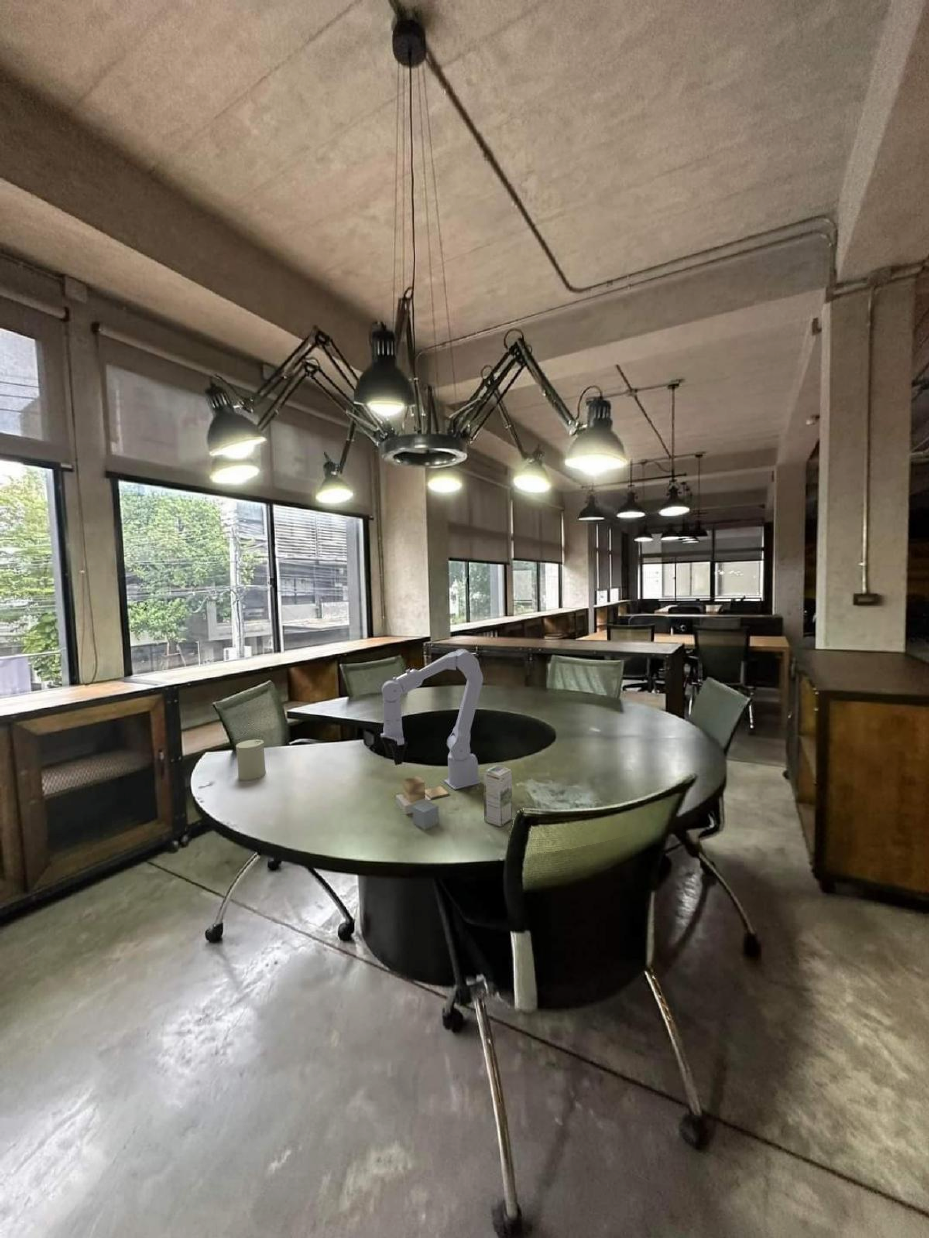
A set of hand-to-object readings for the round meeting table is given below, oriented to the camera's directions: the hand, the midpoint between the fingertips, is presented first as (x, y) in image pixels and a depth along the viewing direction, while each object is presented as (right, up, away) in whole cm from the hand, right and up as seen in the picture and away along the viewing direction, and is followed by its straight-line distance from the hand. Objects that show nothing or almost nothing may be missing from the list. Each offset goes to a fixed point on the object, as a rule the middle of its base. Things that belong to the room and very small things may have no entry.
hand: (394, 760), depth 158 cm
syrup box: (+32, -11, -21) cm, 40 cm away
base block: (+7, -11, -10) cm, 17 cm away
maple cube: (+7, -8, -11) cm, 15 cm away
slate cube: (+12, -11, -21) cm, 27 cm away
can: (-53, -11, +18) cm, 57 cm away
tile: (+13, -10, -3) cm, 17 cm away
